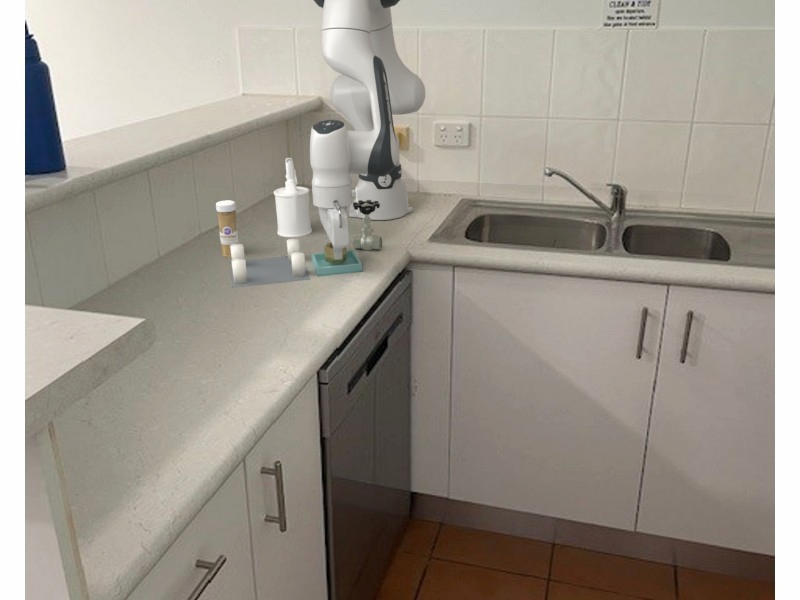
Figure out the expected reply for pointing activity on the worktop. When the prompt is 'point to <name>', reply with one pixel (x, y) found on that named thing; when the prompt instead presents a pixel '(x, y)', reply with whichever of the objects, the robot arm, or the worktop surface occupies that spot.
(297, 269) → the cylinder
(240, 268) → the spacer
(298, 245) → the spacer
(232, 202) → the sprinkles bottle
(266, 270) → the mat
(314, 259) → the tray
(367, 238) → the valve
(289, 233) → the white spouted canister
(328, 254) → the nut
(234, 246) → the spacer
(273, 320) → the worktop surface
